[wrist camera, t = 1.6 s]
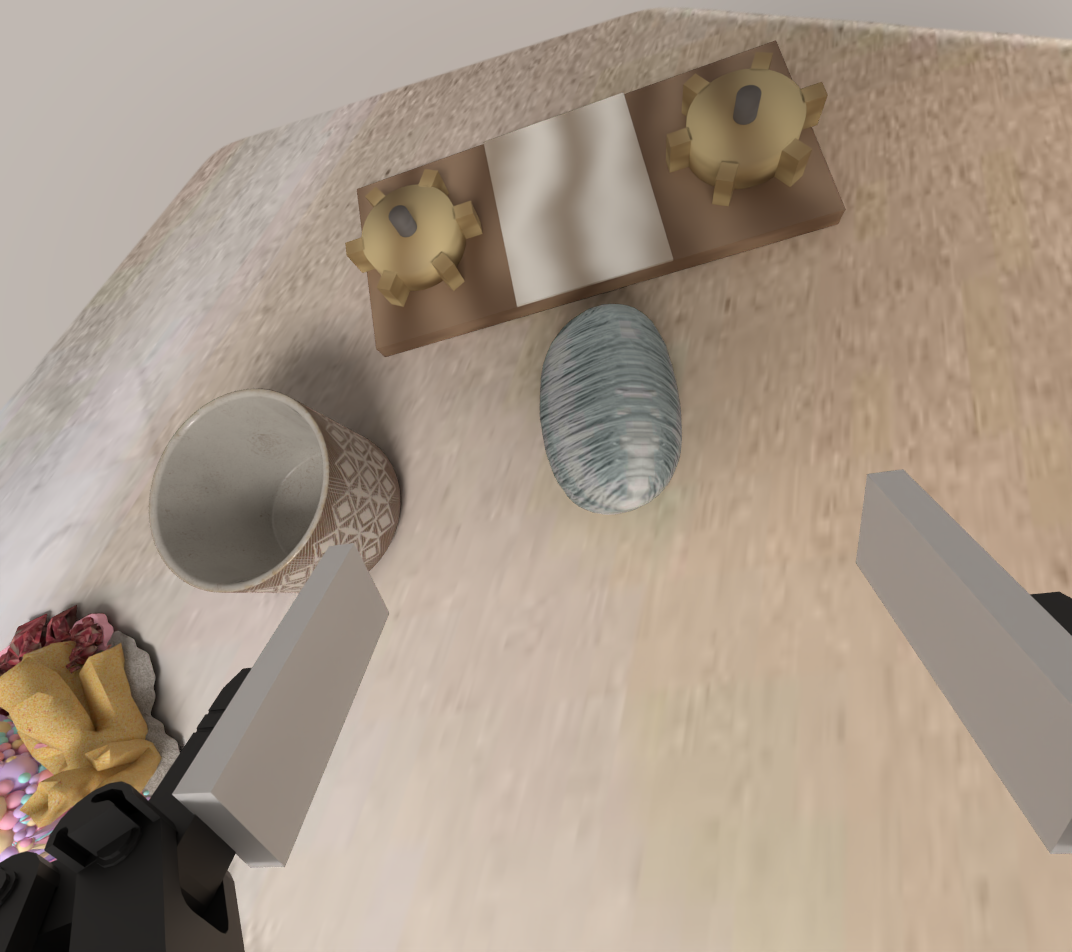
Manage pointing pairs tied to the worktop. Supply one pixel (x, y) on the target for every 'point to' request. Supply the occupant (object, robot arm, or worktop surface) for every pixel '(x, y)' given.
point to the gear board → (596, 201)
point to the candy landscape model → (72, 724)
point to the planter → (267, 494)
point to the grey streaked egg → (610, 410)
